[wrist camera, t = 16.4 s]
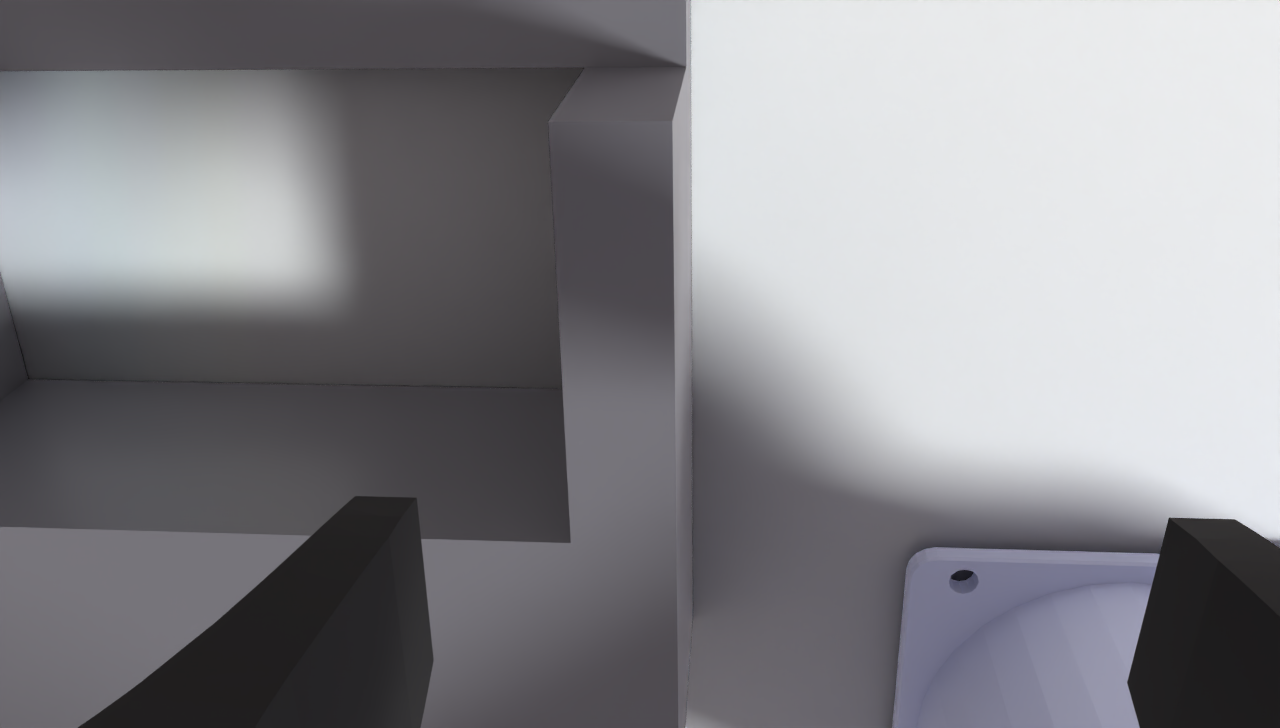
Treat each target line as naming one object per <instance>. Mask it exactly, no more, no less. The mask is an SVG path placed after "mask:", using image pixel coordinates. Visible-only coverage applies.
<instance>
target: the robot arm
mask: <svg viewBox="0 0 1280 728" xmlns="http://www.w3.org/2000/svg"><path fill="white" fill-rule="evenodd" d="M959 570H969V571H973V572H974V573H973V575H972V576H971V577H970V578H968V579H967V580H963V581H956V580H952V579H951V578H950V577H951V575H952V574H954V573H955V572H957V571H959ZM433 662H434V658H433V648H432V639H431V629H430V620H429V610H428V600H427V591H426V581H425V572H424V562H423V552H422V543H421V533H420V524H419V514H418V504H417V498H412V497H375V496H355V497H354V498H352V499H351V500H350V501H349V502H348V503H347V504H346V505H344V506H343V507H342V508H341V509H340V510H339V511H338V512H337V513H336V514H334V515H333V516H332V517H331V518H330V519H329V520H328V521H327V522H326V523H325V524H323V525H322V526H321V527H320V528H319V529H318V530H317V531H316V532H315V533H314V534H313V535H311V536H310V537H309V538H308V539H307V540H306V541H305V542H304V543H303V544H302V545H301V546H300V547H299V548H297V549H296V550H295V551H294V552H293V553H292V554H291V555H290V556H289V557H288V558H287V559H286V560H284V561H283V562H282V563H281V564H280V565H279V566H278V567H277V568H276V569H275V570H274V571H272V572H271V573H270V574H269V575H268V576H267V577H266V578H265V579H264V580H263V581H261V582H260V583H259V584H258V585H257V586H256V587H255V588H254V589H252V590H251V591H250V592H249V593H248V594H247V595H246V596H244V597H243V598H242V599H241V600H240V601H239V602H238V603H237V604H235V605H234V606H233V607H232V608H231V609H230V610H229V611H228V612H226V613H225V614H224V615H223V616H222V617H221V618H220V619H218V620H217V621H216V622H215V623H214V624H213V625H211V626H210V627H209V628H208V629H206V630H205V631H204V632H203V633H201V634H200V635H199V636H198V637H196V638H195V639H194V640H193V641H191V642H190V643H189V644H188V645H186V646H185V647H184V648H183V649H181V650H180V651H179V652H178V653H176V654H175V655H174V656H173V657H171V658H170V659H169V660H168V661H167V662H165V663H164V664H163V665H162V666H160V667H159V668H158V669H157V670H155V671H154V672H153V673H152V674H150V675H149V676H148V677H147V678H145V679H144V680H143V681H142V682H140V683H139V684H138V685H136V686H135V687H134V688H132V689H131V690H130V691H128V692H127V693H126V694H124V695H123V696H122V697H120V698H119V699H117V700H116V701H115V702H113V703H112V704H110V705H109V706H108V707H106V708H105V709H103V710H102V711H101V712H99V713H98V714H96V715H95V716H94V717H92V718H91V719H89V720H88V721H86V722H85V723H83V724H82V725H80V726H79V727H78V728H421V723H422V718H423V714H424V709H425V703H426V698H427V693H428V688H429V682H430V677H431V672H432V667H433ZM892 728H1280V548H1278V547H1277V546H1275V545H1274V544H1272V543H1271V542H1270V541H1268V540H1267V539H1265V538H1264V537H1262V536H1260V535H1259V534H1257V533H1256V532H1254V531H1253V530H1251V529H1250V528H1248V527H1246V526H1245V525H1243V524H1241V523H1240V522H1238V521H1236V520H1233V519H1196V518H1169V520H1168V524H1167V528H1166V532H1165V536H1164V540H1163V544H1162V547H1161V551H1160V554H1155V553H1119V552H1084V551H1049V550H1013V549H978V548H943V547H934V548H927V549H923V550H921V551H919V552H917V553H915V555H914V556H913V557H912V558H911V559H910V560H909V562H908V565H907V568H906V576H905V588H904V599H903V611H902V622H901V633H900V645H899V656H898V668H897V679H896V691H895V702H894V714H893V725H892Z"/></svg>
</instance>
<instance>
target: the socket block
mask: <svg viewBox="0 0 1280 728" xmlns="http://www.w3.org/2000/svg"><path fill="white" fill-rule="evenodd" d="M422 68H584V69H583V71H582V72H581V74H580V75H579V77H578V78H577V80H576V81H575V83H574V84H573V86H572V87H571V89H570V90H569V92H568V93H567V94H566V96H565V97H564V99H563V100H562V102H561V103H560V105H559V106H558V108H557V109H556V111H555V112H554V114H553V115H552V117H551V118H550V120H549V121H548V130H549V149H550V167H551V186H552V204H553V223H554V241H555V259H556V278H557V296H558V315H559V333H560V352H561V370H562V389H550V388H492V387H435V386H378V385H320V384H263V383H206V382H148V381H91V380H33V379H28V377H27V373H26V369H25V365H24V362H23V358H22V354H21V350H20V346H19V343H18V339H17V335H16V331H15V327H14V324H13V320H12V316H11V312H10V308H9V305H8V301H7V297H6V293H5V289H4V286H3V282H2V278H1V274H0V728H78V727H79V726H80V725H82V724H83V723H85V722H86V721H88V720H89V719H91V718H92V717H94V716H95V715H96V714H98V713H99V712H101V711H102V710H103V709H105V708H106V707H108V706H109V705H110V704H112V703H113V702H115V701H116V700H117V699H119V698H120V697H122V696H123V695H124V694H126V693H127V692H128V691H130V690H131V689H132V688H134V687H135V686H136V685H138V684H139V683H140V682H142V681H143V680H144V679H145V678H147V677H148V676H149V675H150V674H152V673H153V672H154V671H155V670H157V669H158V668H159V667H160V666H162V665H163V664H164V663H165V662H167V661H168V660H169V659H170V658H171V657H173V656H174V655H175V654H176V653H178V652H179V651H180V650H181V649H183V648H184V647H185V646H186V645H188V644H189V643H190V642H191V641H193V640H194V639H195V638H196V637H198V636H199V635H200V634H201V633H203V632H204V631H205V630H206V629H208V628H209V627H210V626H211V625H213V624H214V623H215V622H216V621H217V620H218V619H220V618H221V617H222V616H223V615H224V614H225V613H226V612H228V611H229V610H230V609H231V608H232V607H233V606H234V605H235V604H237V603H238V602H239V601H240V600H241V599H242V598H243V597H244V596H246V595H247V594H248V593H249V592H250V591H251V590H252V589H254V588H255V587H256V586H257V585H258V584H259V583H260V582H261V581H263V580H264V579H265V578H266V577H267V576H268V575H269V574H270V573H271V572H272V571H274V570H275V569H276V568H277V567H278V566H279V565H280V564H281V563H282V562H283V561H284V560H286V559H287V558H288V557H289V556H290V555H291V554H292V553H293V552H294V551H295V550H296V549H297V548H299V547H300V546H301V545H302V544H303V543H304V542H305V541H306V540H307V539H308V538H309V537H310V536H311V535H313V534H314V533H315V532H316V531H317V530H318V529H319V528H320V527H321V526H322V525H323V524H325V523H326V522H327V521H328V520H329V519H330V518H331V517H332V516H333V515H334V514H336V513H337V512H338V511H339V510H340V509H341V508H342V507H343V506H344V505H346V504H347V503H348V502H349V501H350V500H351V499H352V498H354V497H355V496H375V497H412V498H417V504H418V514H419V524H420V533H421V543H422V552H423V562H424V572H425V581H426V591H427V600H428V610H429V620H430V629H431V639H432V648H433V658H434V662H433V667H432V672H431V677H430V682H429V688H428V693H427V698H426V703H425V709H424V714H423V718H422V723H421V728H685V723H686V709H687V695H688V680H689V666H690V652H691V638H692V623H693V535H692V218H691V0H0V71H92V70H257V69H422Z"/></svg>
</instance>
